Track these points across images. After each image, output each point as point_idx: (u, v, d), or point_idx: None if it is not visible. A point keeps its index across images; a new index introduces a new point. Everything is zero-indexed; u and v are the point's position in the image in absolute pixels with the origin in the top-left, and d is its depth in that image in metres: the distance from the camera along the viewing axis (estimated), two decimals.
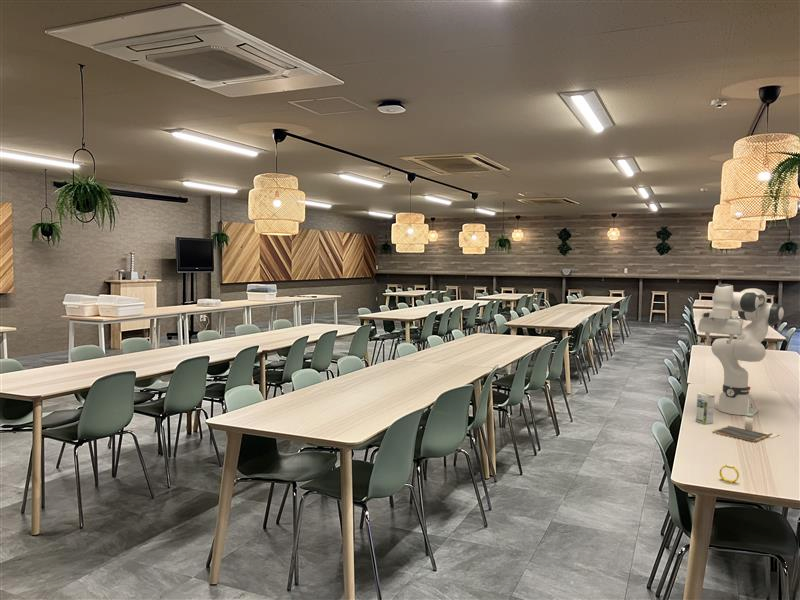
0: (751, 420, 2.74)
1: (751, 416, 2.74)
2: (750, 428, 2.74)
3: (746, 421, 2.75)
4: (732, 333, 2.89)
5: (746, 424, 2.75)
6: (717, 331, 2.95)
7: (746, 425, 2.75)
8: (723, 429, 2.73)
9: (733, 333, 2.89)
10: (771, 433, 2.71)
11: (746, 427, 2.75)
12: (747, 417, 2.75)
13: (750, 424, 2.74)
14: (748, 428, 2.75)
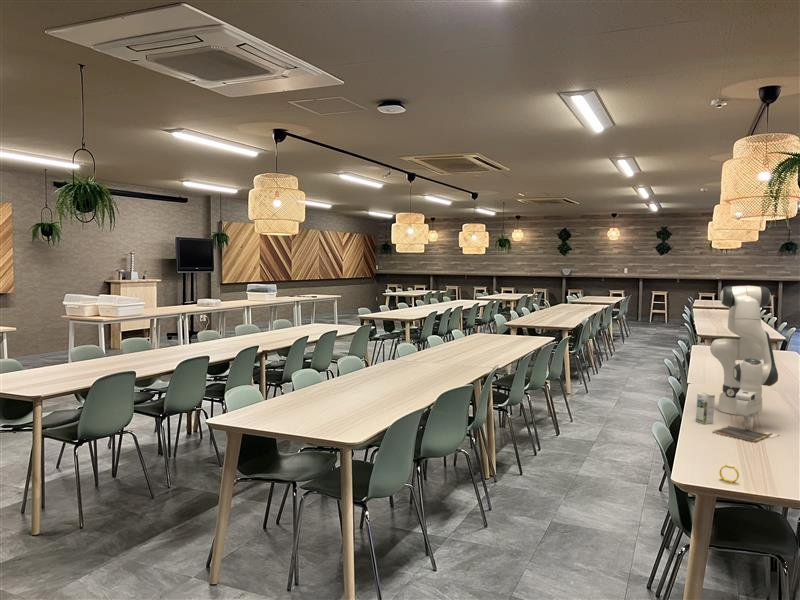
0: (751, 420, 2.74)
1: (751, 416, 2.74)
2: (750, 428, 2.74)
3: None
4: (759, 410, 2.78)
5: (746, 424, 2.75)
6: (753, 411, 2.74)
7: (746, 425, 2.75)
8: (723, 429, 2.73)
9: (760, 409, 2.79)
10: (771, 433, 2.71)
11: (746, 427, 2.75)
12: None
13: (750, 424, 2.74)
14: (748, 428, 2.75)
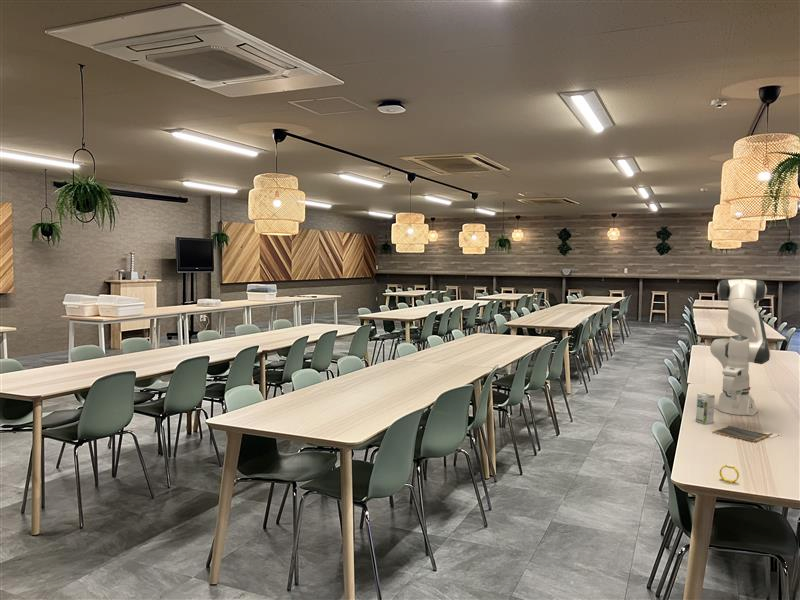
0: (738, 397, 2.73)
1: (738, 393, 2.73)
2: (737, 405, 2.73)
3: None
4: (746, 387, 2.77)
5: (733, 400, 2.74)
6: (740, 388, 2.73)
7: (733, 402, 2.74)
8: (723, 429, 2.73)
9: (747, 387, 2.77)
10: (771, 433, 2.71)
11: (733, 404, 2.74)
12: None
13: (737, 401, 2.73)
14: (735, 405, 2.73)
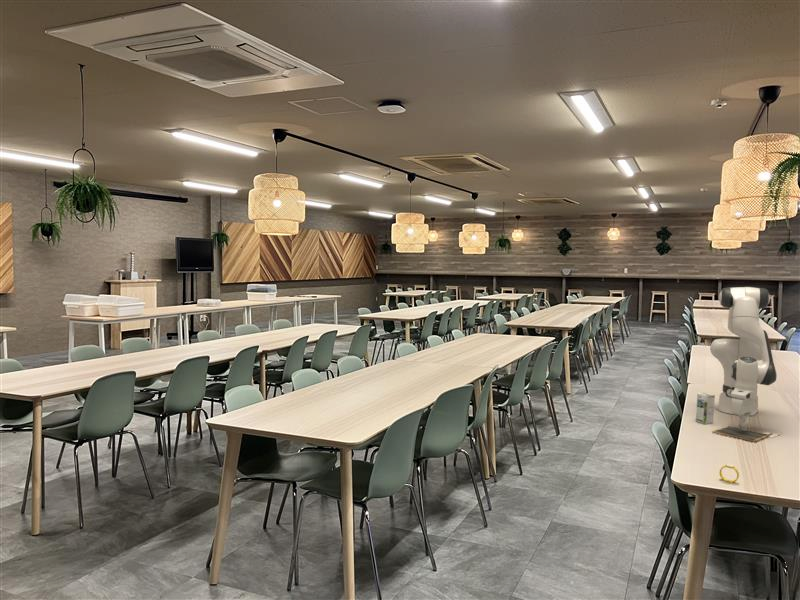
0: (746, 419, 2.70)
1: (746, 415, 2.70)
2: (745, 427, 2.70)
3: None
4: (755, 409, 2.74)
5: (741, 423, 2.71)
6: (748, 410, 2.70)
7: (741, 424, 2.71)
8: (723, 429, 2.73)
9: (755, 408, 2.74)
10: (771, 433, 2.71)
11: (741, 426, 2.71)
12: None
13: (745, 423, 2.70)
14: (743, 427, 2.71)
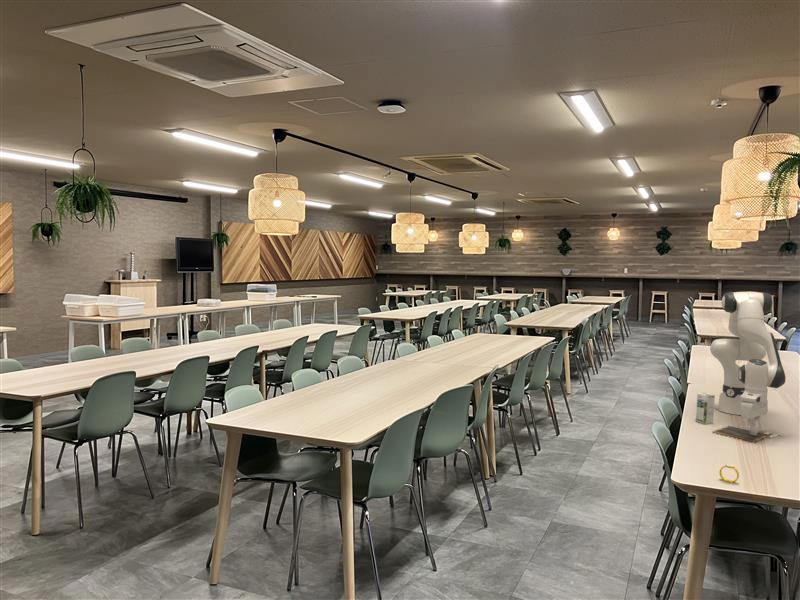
0: (756, 423, 2.63)
1: (756, 419, 2.62)
2: (755, 432, 2.63)
3: None
4: (764, 412, 2.67)
5: (751, 427, 2.64)
6: (758, 414, 2.62)
7: (751, 429, 2.64)
8: (723, 429, 2.73)
9: (765, 412, 2.67)
10: (771, 433, 2.71)
11: (751, 431, 2.64)
12: None
13: (755, 428, 2.63)
14: (753, 432, 2.63)
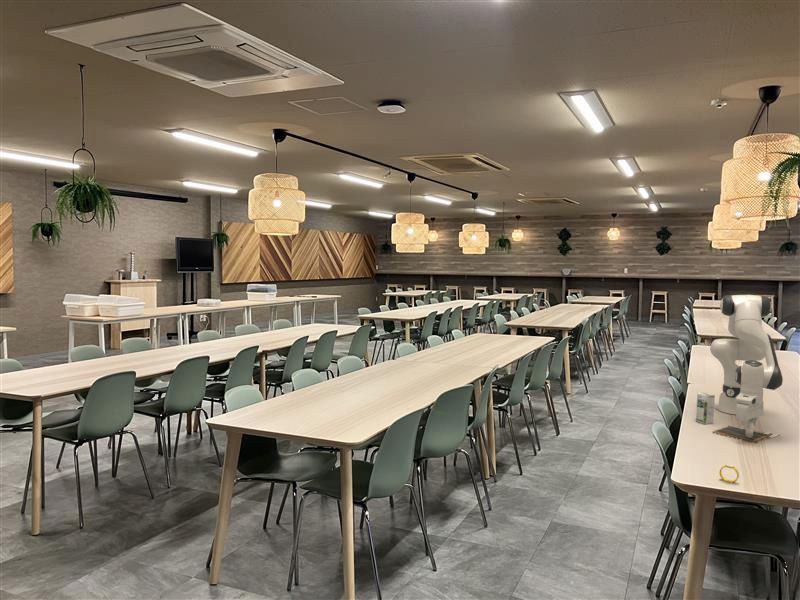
0: (752, 426, 2.60)
1: (752, 421, 2.60)
2: (751, 434, 2.60)
3: None
4: (760, 414, 2.64)
5: (746, 429, 2.61)
6: (754, 416, 2.60)
7: (747, 431, 2.61)
8: (723, 429, 2.73)
9: (761, 414, 2.65)
10: (771, 433, 2.71)
11: (747, 433, 2.61)
12: (748, 423, 2.61)
13: (751, 430, 2.60)
14: (749, 434, 2.61)
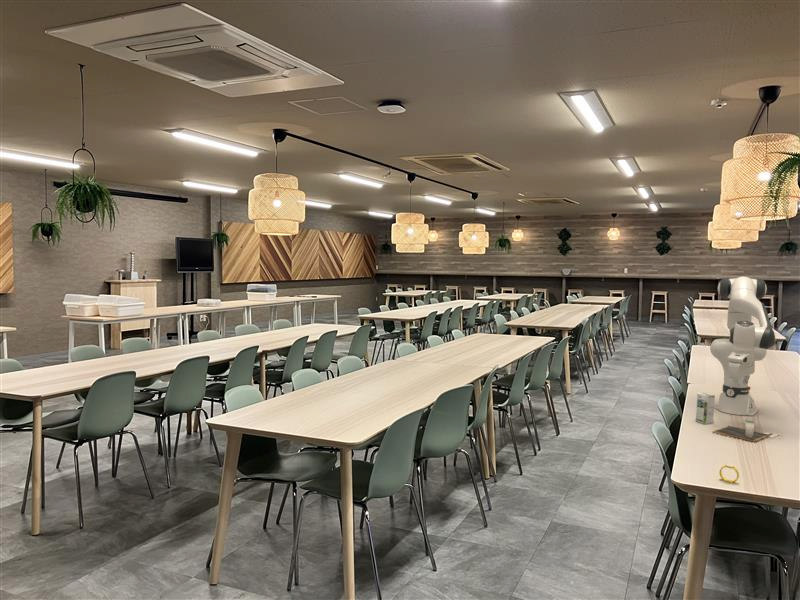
0: (752, 426, 2.60)
1: (752, 422, 2.60)
2: (751, 434, 2.60)
3: (747, 427, 2.61)
4: (752, 372, 2.74)
5: (746, 429, 2.61)
6: (745, 374, 2.70)
7: (747, 431, 2.61)
8: (723, 429, 2.73)
9: (752, 372, 2.74)
10: (771, 433, 2.71)
11: (747, 433, 2.61)
12: (748, 423, 2.61)
13: (751, 430, 2.60)
14: (749, 434, 2.61)
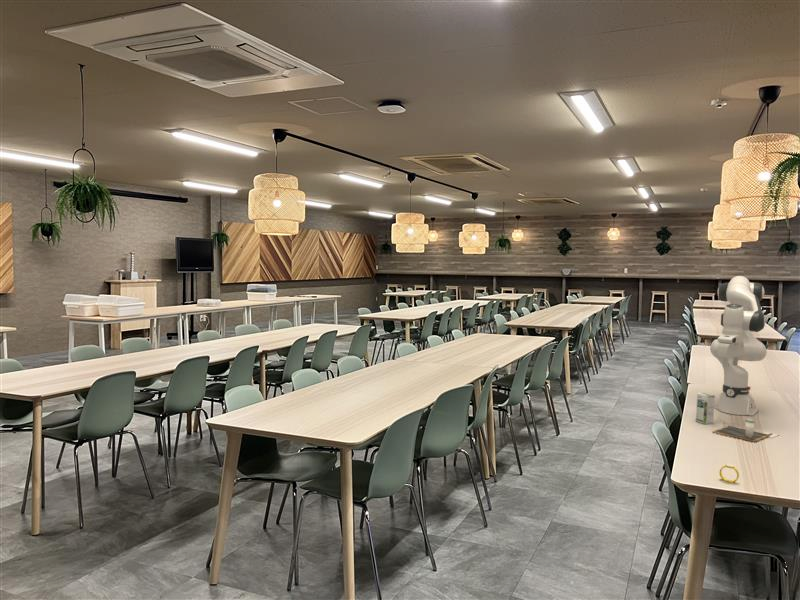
0: (752, 426, 2.60)
1: (752, 422, 2.60)
2: (751, 434, 2.60)
3: (747, 427, 2.61)
4: (741, 354, 2.85)
5: (746, 429, 2.61)
6: (735, 355, 2.81)
7: (747, 431, 2.61)
8: (723, 429, 2.73)
9: (741, 354, 2.85)
10: (771, 433, 2.71)
11: (747, 433, 2.61)
12: (748, 423, 2.61)
13: (751, 430, 2.60)
14: (749, 434, 2.61)
